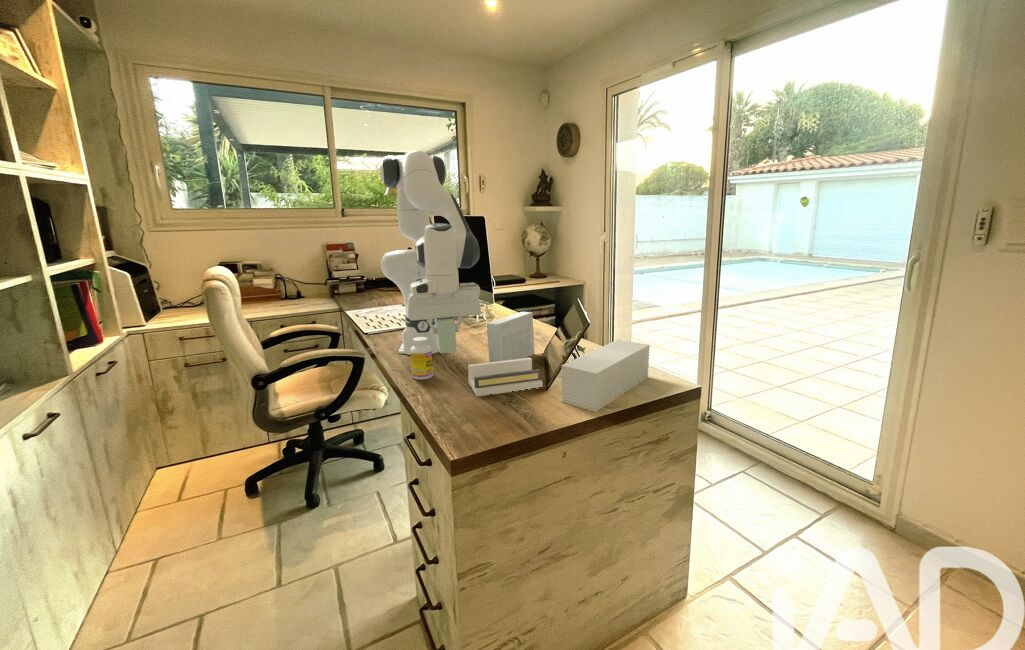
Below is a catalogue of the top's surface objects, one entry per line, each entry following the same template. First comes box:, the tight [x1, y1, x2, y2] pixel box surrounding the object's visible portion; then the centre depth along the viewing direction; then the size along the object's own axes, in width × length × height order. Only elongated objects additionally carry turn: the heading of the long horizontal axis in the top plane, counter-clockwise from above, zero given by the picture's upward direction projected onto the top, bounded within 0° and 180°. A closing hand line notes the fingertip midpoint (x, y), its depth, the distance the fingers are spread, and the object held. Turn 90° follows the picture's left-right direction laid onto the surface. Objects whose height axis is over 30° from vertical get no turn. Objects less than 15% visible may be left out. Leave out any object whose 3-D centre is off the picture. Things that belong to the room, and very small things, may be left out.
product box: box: [435, 317, 457, 354], centre depth 124 cm, size 8×5×9 cm, turn 16°
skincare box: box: [486, 311, 535, 362], centre depth 155 cm, size 21×5×16 cm, turn 144°
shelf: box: [467, 357, 543, 397], centre depth 133 cm, size 12×20×6 cm, turn 107°
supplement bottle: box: [410, 337, 434, 381], centre depth 141 cm, size 7×7×13 cm
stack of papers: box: [561, 339, 650, 412], centre depth 128 cm, size 32×11×11 cm, turn 139°
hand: (445, 332), depth 124 cm, fingers closed on product box, 5 cm apart
